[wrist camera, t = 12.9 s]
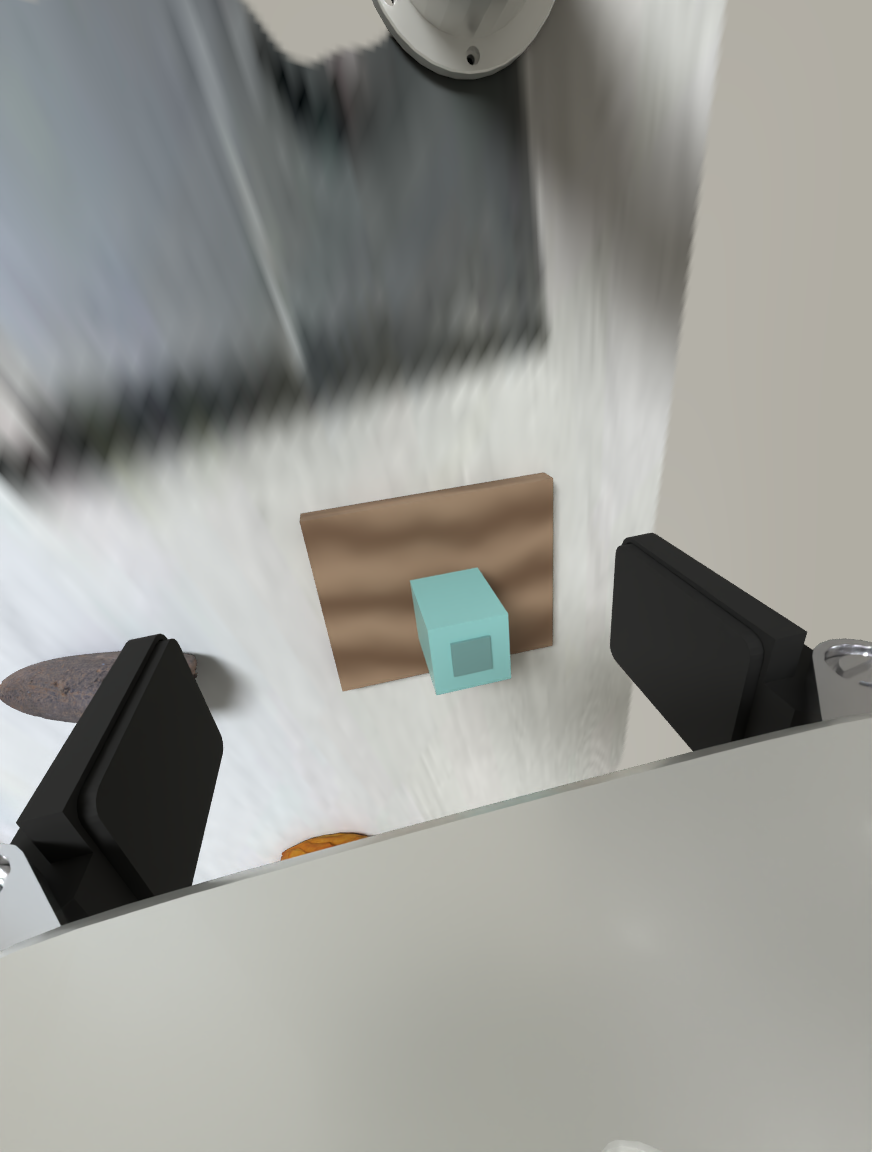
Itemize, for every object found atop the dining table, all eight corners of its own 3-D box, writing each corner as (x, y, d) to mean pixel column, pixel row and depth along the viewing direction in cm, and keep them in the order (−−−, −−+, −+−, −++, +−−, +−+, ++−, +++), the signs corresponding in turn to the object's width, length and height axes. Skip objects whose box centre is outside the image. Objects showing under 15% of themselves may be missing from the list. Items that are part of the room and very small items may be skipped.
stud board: (300, 513, 42) (294, 568, 32) (544, 472, 45) (604, 510, 35) (341, 678, 50) (346, 761, 41) (544, 635, 53) (594, 702, 43)
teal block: (409, 580, 42) (428, 631, 35) (477, 567, 43) (509, 615, 35) (418, 638, 45) (437, 696, 37) (482, 624, 45) (511, 679, 38)
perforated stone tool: (25, 686, 44) (-23, 743, 38) (14, 635, 42) (-39, 688, 35) (208, 686, 48) (191, 738, 41) (206, 640, 45) (188, 688, 39)
